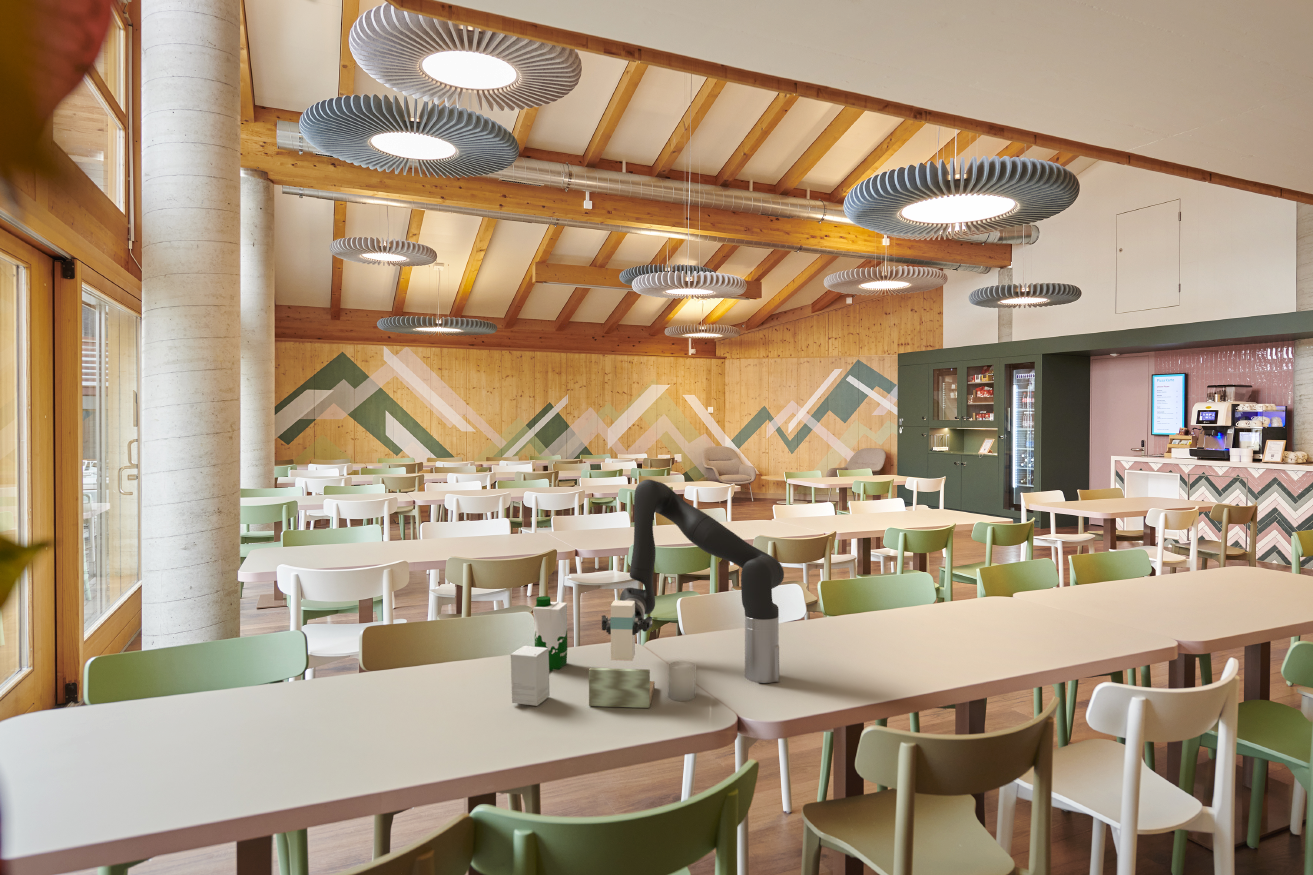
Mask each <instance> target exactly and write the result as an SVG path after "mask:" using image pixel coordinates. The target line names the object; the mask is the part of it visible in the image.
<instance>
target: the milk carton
mask: <svg viewBox="0 0 1313 875" xmlns="http://www.w3.org/2000/svg"><path fill="white" fill-rule="evenodd" d="M535 603H536V604H535V606H534V607H532V612H533V620H534V622H533V624H534V628H533V629H534V647H543V648H549V672H553V671H554V670H560V669H561V668H562V667H564V666H566V665H567V663H568V603H567V602H559V601H551V596H548V595H546V596H545V595H544V596H542V595H541V596H537V597H536V601H535Z"/></svg>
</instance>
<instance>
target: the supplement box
mask: <svg viewBox="0 0 1313 875" xmlns="http://www.w3.org/2000/svg"><path fill="white" fill-rule="evenodd" d="M510 669H511V670H510V677H511V679H510V680H511V682H510V683H511V703H512V704H518V705H521V704H522V705H527V706H529V705H530V706H536V707H538V706H539V705H540V704H542V703H543V702H544V701H545V700H546V699H548V698H549V697H550V693H551V692H550V671H549V648H543V647H535V646H530V645H523V646H521V647H520V648H518V649H516V650H515V651H514V652H512V653H510Z"/></svg>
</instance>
